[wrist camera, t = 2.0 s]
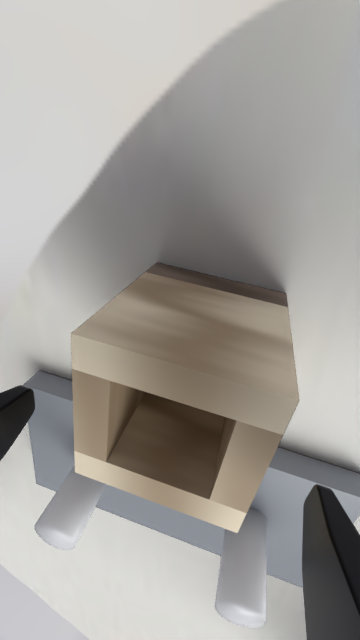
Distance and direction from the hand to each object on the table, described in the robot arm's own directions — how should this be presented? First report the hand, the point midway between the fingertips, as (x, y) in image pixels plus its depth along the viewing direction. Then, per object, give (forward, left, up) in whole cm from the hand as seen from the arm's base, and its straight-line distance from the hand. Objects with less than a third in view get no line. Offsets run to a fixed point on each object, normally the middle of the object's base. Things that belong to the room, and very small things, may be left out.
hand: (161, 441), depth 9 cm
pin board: (0, -11, -7) cm, 13 cm away
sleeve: (0, 0, -7) cm, 7 cm away
